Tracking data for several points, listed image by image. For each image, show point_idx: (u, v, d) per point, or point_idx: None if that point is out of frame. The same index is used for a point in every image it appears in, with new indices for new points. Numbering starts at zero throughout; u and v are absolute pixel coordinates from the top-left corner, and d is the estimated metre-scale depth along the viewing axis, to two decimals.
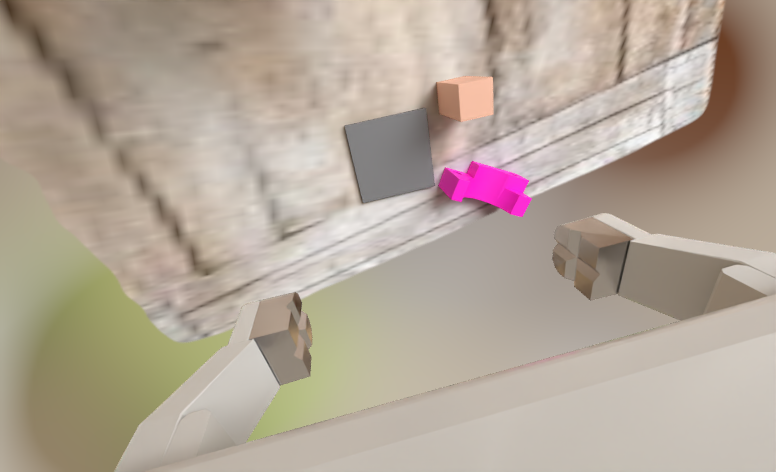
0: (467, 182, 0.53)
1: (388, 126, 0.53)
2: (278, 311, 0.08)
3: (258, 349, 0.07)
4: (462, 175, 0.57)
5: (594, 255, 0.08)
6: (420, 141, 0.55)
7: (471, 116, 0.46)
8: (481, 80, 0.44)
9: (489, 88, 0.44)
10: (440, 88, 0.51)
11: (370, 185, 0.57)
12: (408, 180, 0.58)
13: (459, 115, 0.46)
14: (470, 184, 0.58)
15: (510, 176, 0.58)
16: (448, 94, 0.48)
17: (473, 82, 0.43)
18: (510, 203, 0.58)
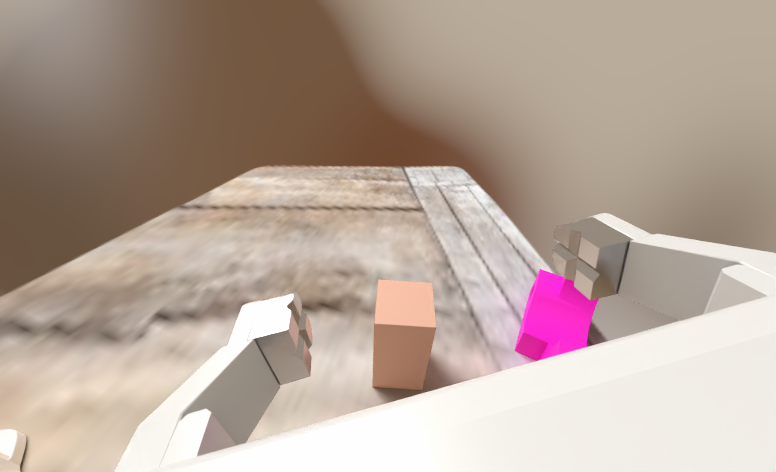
0: (562, 342, 0.28)
1: None
2: (278, 311, 0.08)
3: (258, 349, 0.07)
4: None
5: (594, 255, 0.08)
6: None
7: (430, 311, 0.27)
8: (378, 292, 0.28)
9: (392, 284, 0.29)
10: (381, 378, 0.30)
11: None
12: None
13: (425, 329, 0.26)
14: None
15: (537, 289, 0.37)
16: (390, 356, 0.28)
17: (378, 302, 0.27)
18: None
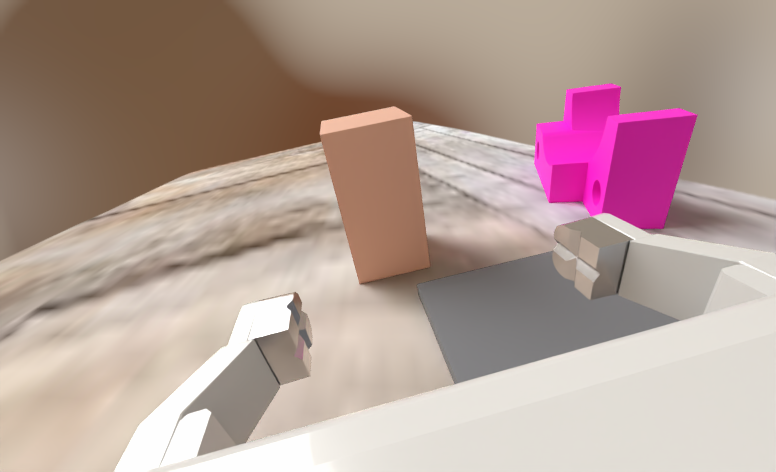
0: (613, 116, 0.20)
1: (492, 371, 0.13)
2: (278, 311, 0.08)
3: (258, 349, 0.07)
4: (596, 172, 0.22)
5: (594, 255, 0.08)
6: (511, 279, 0.18)
7: (399, 113, 0.18)
8: (323, 125, 0.19)
9: (341, 118, 0.20)
10: (366, 259, 0.21)
11: None
12: None
13: (397, 126, 0.17)
14: None
15: (544, 133, 0.30)
16: (365, 206, 0.19)
17: (323, 127, 0.18)
18: (598, 101, 0.28)
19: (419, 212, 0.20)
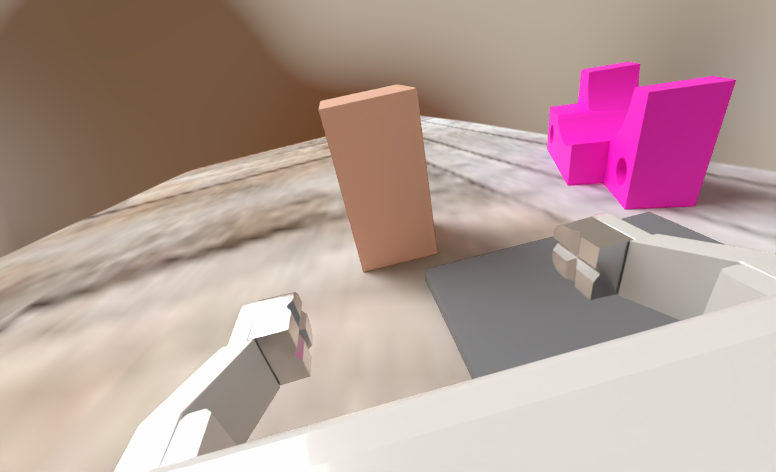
0: (641, 87, 0.19)
1: (510, 356, 0.12)
2: (278, 311, 0.08)
3: (258, 349, 0.07)
4: (621, 149, 0.21)
5: (594, 255, 0.08)
6: (525, 261, 0.17)
7: (402, 88, 0.17)
8: (322, 103, 0.18)
9: (341, 97, 0.19)
10: (370, 246, 0.19)
11: None
12: None
13: (401, 100, 0.16)
14: None
15: (559, 115, 0.29)
16: (368, 188, 0.18)
17: (322, 104, 0.17)
18: (616, 79, 0.27)
19: (425, 194, 0.18)
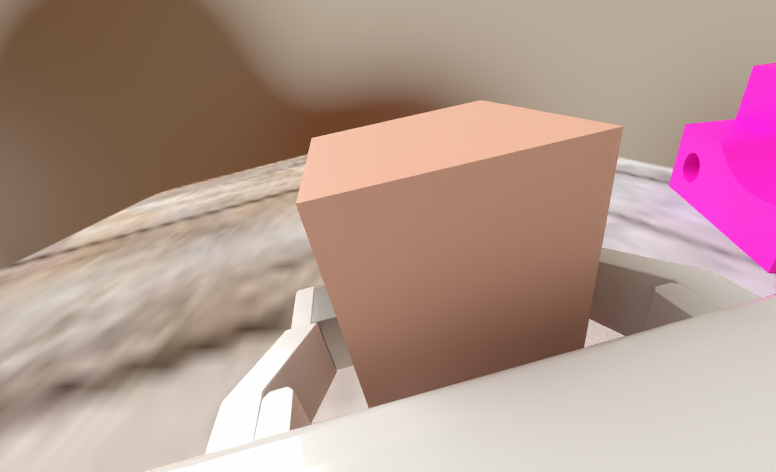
0: None
1: None
2: None
3: (320, 333, 0.08)
4: None
5: None
6: None
7: (538, 117, 0.06)
8: (314, 150, 0.07)
9: (359, 131, 0.08)
10: None
11: None
12: None
13: (567, 164, 0.05)
14: None
15: (725, 141, 0.17)
16: (434, 379, 0.07)
17: (313, 161, 0.06)
18: None
19: None
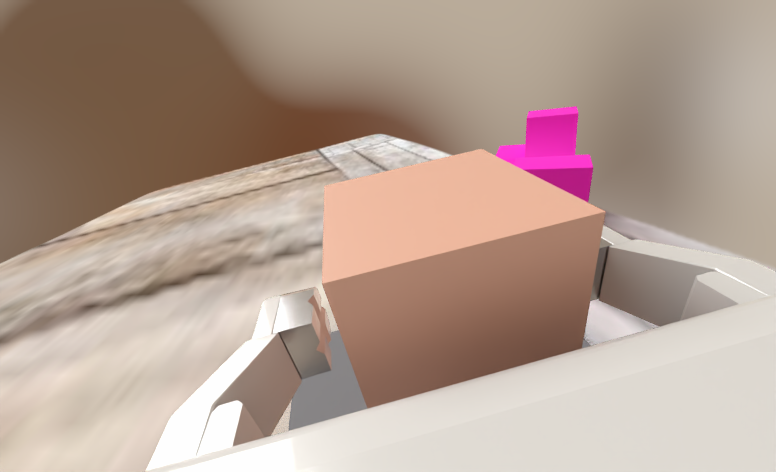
0: (518, 159, 0.18)
1: None
2: (300, 305, 0.08)
3: (282, 343, 0.07)
4: None
5: None
6: None
7: (533, 186, 0.07)
8: (329, 205, 0.08)
9: (370, 181, 0.09)
10: None
11: None
12: None
13: (557, 242, 0.06)
14: None
15: None
16: None
17: (330, 224, 0.07)
18: (554, 127, 0.26)
19: None
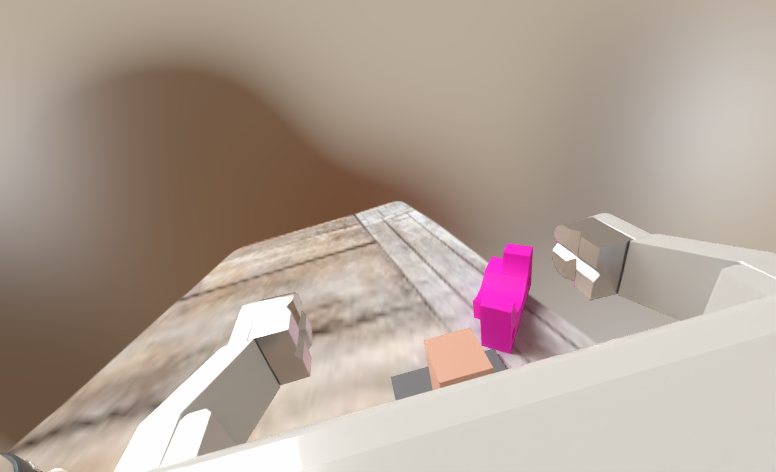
0: (485, 297, 0.41)
1: None
2: (278, 311, 0.08)
3: (258, 349, 0.07)
4: None
5: (594, 255, 0.08)
6: None
7: (481, 354, 0.29)
8: (429, 352, 0.30)
9: (438, 341, 0.31)
10: None
11: None
12: None
13: (484, 373, 0.28)
14: None
15: (486, 271, 0.50)
16: None
17: (433, 362, 0.29)
18: (517, 260, 0.47)
19: None
